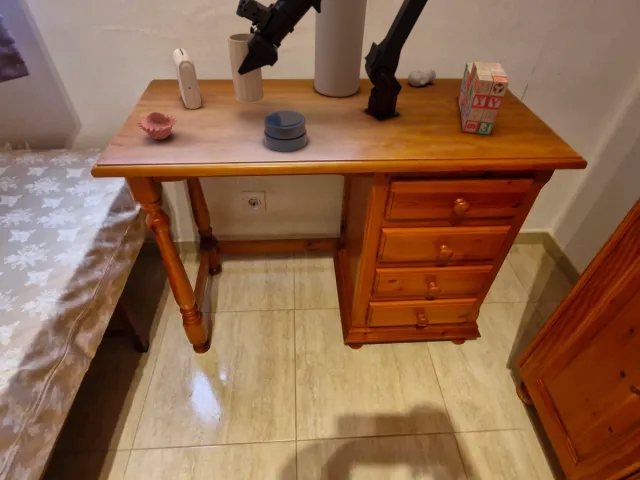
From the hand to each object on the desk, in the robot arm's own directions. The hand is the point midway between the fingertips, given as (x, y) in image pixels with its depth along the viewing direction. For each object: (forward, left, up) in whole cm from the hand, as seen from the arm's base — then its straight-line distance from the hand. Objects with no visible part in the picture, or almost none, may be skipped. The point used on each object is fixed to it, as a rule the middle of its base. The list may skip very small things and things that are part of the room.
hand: (240, 68), depth 85 cm
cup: (-1, +1, -7) cm, 7 cm away
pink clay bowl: (+21, +2, -11) cm, 24 cm away
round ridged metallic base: (-2, +17, -11) cm, 20 cm away
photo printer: (+9, -14, -11) cm, 20 cm away
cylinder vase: (-29, -3, -11) cm, 32 cm away
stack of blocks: (-50, +28, -11) cm, 58 cm away
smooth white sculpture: (-53, +6, -11) cm, 55 cm away
